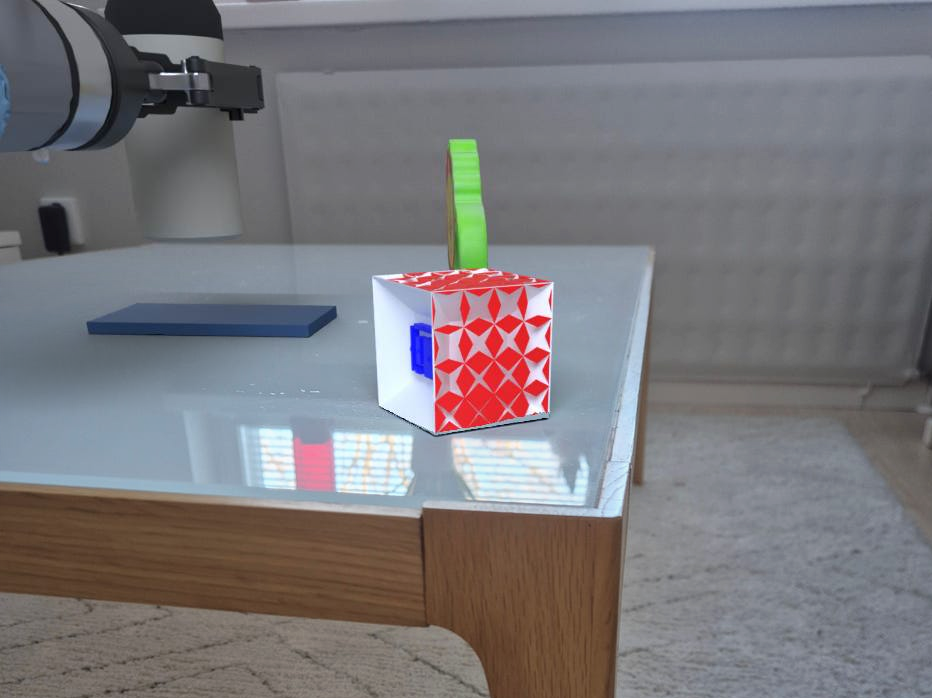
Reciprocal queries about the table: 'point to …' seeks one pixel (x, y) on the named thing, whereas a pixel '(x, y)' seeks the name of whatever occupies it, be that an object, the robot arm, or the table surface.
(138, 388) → the table surface
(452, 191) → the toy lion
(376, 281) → the red patterned cube box
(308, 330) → the blue mat
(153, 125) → the travel mug
